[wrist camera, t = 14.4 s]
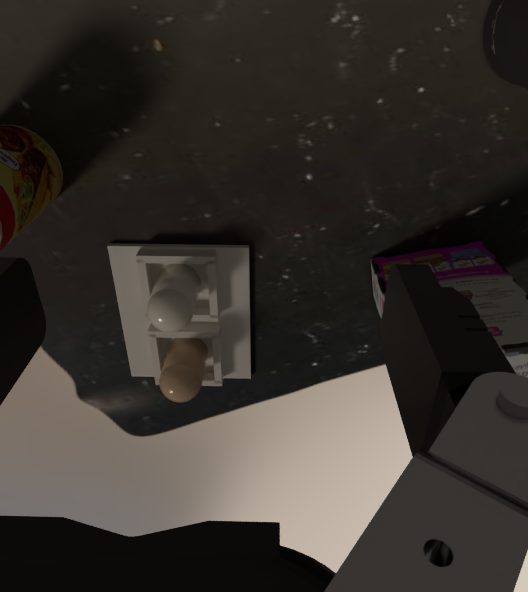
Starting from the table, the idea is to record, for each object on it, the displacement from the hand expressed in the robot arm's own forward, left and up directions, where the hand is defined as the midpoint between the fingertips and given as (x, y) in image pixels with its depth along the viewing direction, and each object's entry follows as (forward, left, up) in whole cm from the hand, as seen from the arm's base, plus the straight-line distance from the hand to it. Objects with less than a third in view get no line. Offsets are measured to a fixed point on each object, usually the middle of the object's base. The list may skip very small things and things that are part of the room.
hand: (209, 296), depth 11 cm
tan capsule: (+8, +28, -34) cm, 45 cm away
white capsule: (+8, +20, -34) cm, 40 cm away
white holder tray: (+8, +24, -34) cm, 42 cm away
